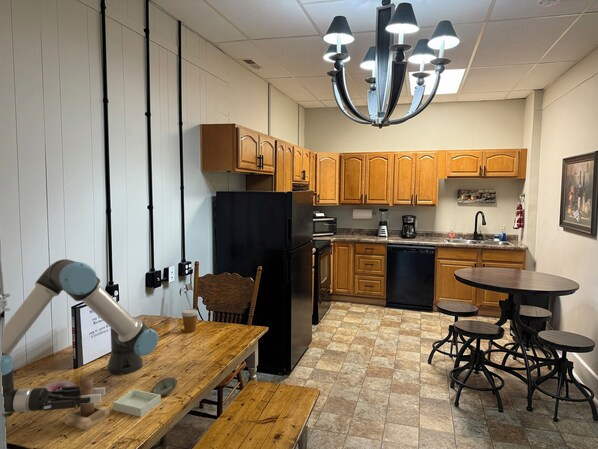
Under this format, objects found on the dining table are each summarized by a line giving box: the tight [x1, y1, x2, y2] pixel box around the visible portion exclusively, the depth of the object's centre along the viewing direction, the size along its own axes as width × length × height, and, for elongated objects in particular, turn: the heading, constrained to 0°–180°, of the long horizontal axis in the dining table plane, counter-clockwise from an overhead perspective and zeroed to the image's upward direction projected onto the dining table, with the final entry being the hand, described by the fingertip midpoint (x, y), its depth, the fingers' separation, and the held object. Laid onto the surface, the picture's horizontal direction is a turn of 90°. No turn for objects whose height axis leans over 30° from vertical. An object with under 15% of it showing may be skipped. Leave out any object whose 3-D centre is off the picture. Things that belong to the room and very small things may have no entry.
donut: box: [41, 379, 77, 396], centre depth 165 cm, size 14×13×5 cm
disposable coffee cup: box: [181, 308, 199, 334], centre depth 244 cm, size 10×10×12 cm
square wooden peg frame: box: [64, 403, 110, 431], centre depth 149 cm, size 10×10×3 cm
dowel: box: [79, 376, 95, 418], centre depth 149 cm, size 4×4×15 cm
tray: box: [112, 388, 162, 417], centre depth 159 cm, size 13×11×3 cm
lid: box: [151, 377, 178, 397], centre depth 171 cm, size 11×10×5 cm
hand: (102, 394), depth 149 cm, fingers closed on dowel, 4 cm apart
